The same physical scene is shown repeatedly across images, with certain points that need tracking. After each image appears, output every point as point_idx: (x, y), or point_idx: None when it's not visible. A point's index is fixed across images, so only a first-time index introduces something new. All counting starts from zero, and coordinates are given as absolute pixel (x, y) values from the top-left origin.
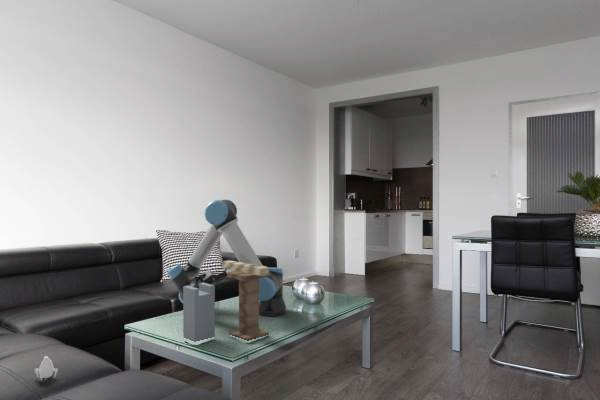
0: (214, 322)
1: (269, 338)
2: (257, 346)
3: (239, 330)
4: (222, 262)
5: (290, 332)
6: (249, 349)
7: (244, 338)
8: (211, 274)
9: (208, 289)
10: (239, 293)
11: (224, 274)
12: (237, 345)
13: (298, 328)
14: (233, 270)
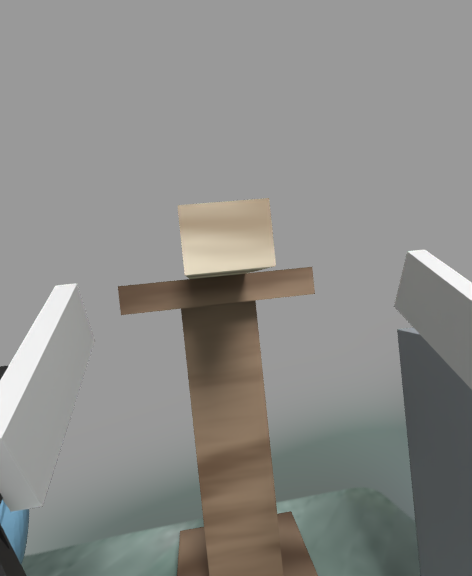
0: (419, 547)
1: None
2: None
3: (282, 573)
4: (268, 211)
5: (93, 543)
6: (307, 498)
7: (296, 524)
8: (401, 305)
9: None
10: (263, 384)
11: (9, 552)
12: (332, 536)
13: (30, 560)
14: (85, 352)
